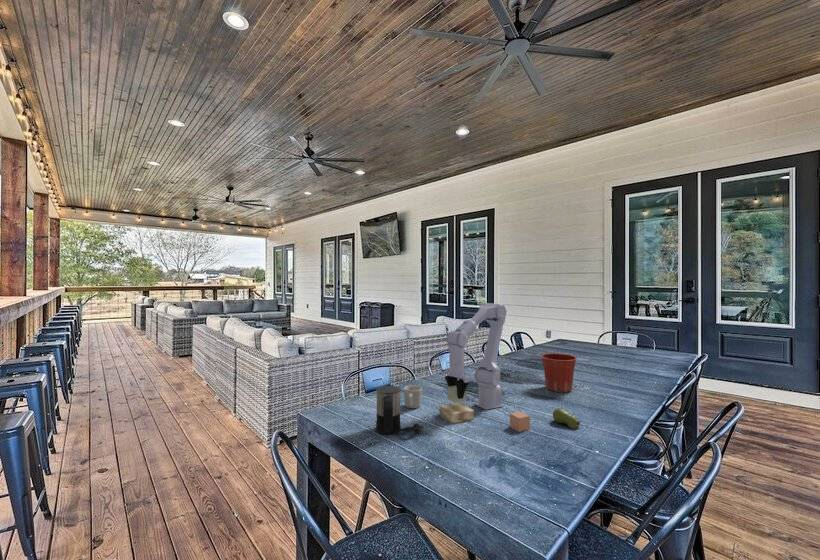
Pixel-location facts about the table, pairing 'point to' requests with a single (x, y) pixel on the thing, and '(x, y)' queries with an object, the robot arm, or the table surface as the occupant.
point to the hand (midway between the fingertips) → (456, 396)
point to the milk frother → (390, 411)
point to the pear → (565, 418)
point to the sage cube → (454, 394)
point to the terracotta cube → (520, 421)
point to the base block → (456, 412)
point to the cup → (412, 396)
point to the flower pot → (559, 371)
